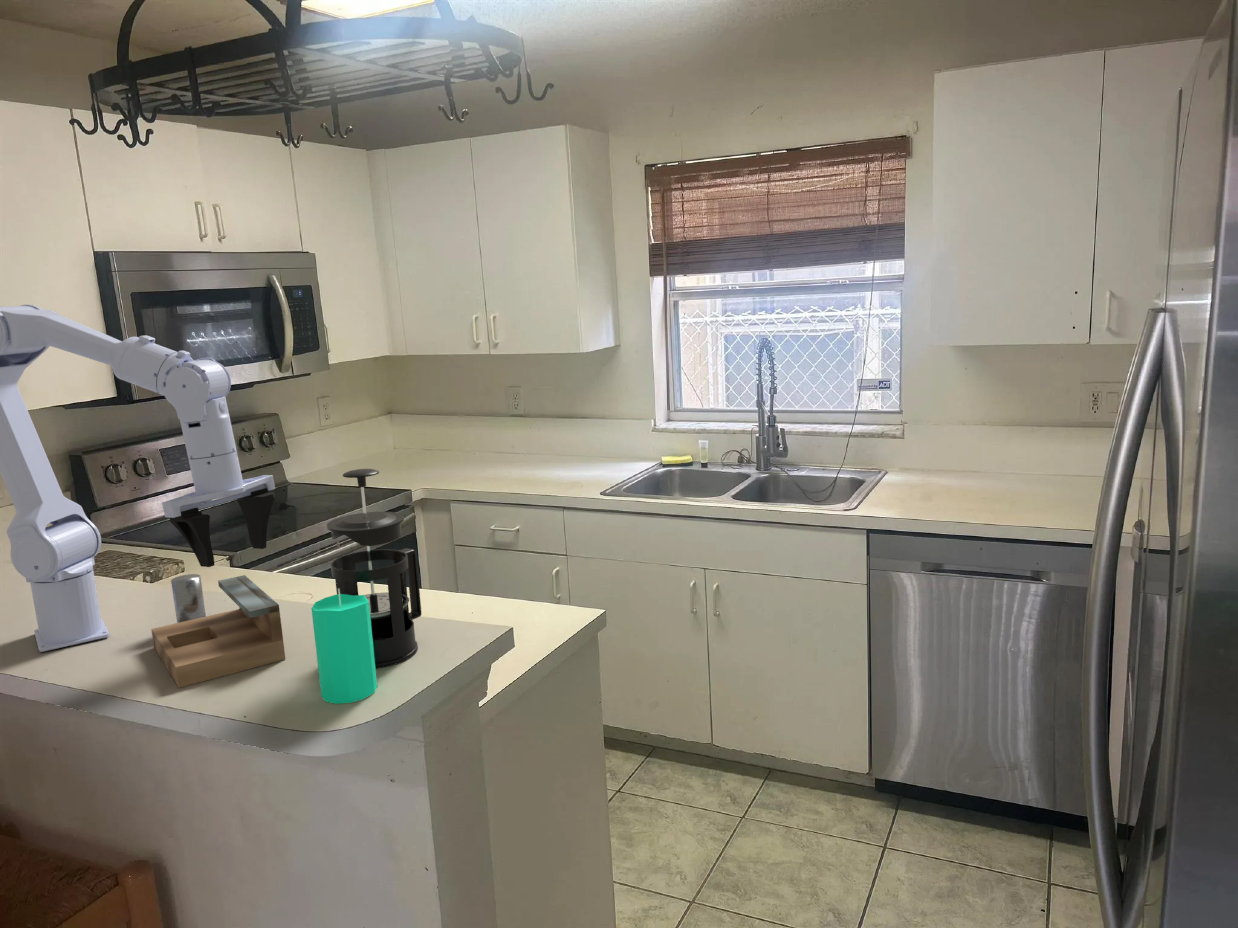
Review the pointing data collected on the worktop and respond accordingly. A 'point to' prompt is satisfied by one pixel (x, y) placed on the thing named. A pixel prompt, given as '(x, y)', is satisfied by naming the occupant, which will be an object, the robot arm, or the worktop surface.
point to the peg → (188, 597)
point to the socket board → (223, 637)
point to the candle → (344, 648)
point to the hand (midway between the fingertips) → (234, 556)
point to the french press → (380, 577)
